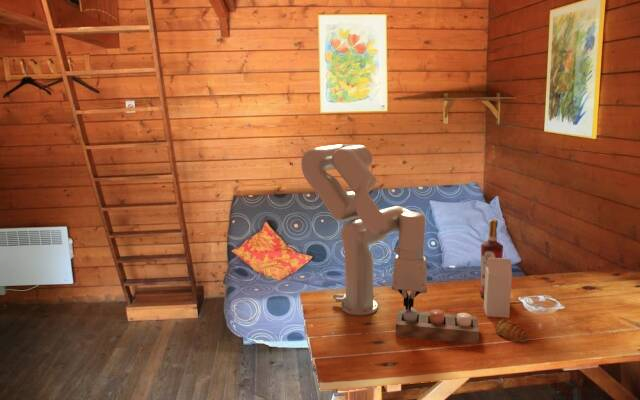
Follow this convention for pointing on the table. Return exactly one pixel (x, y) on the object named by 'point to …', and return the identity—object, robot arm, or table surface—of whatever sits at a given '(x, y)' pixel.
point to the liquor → (489, 251)
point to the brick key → (436, 317)
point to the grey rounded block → (410, 315)
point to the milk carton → (497, 287)
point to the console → (437, 328)
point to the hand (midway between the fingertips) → (408, 308)
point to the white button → (464, 319)
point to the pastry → (512, 331)
